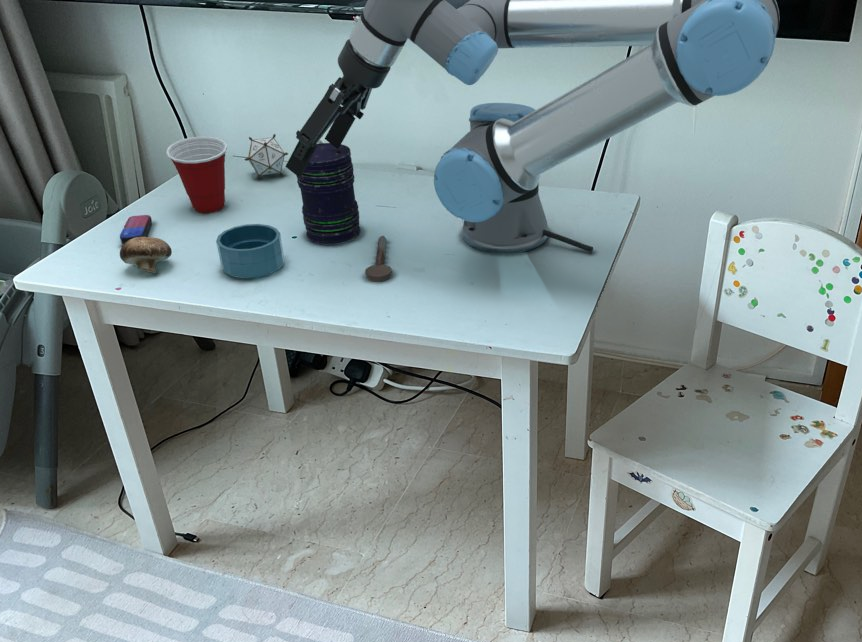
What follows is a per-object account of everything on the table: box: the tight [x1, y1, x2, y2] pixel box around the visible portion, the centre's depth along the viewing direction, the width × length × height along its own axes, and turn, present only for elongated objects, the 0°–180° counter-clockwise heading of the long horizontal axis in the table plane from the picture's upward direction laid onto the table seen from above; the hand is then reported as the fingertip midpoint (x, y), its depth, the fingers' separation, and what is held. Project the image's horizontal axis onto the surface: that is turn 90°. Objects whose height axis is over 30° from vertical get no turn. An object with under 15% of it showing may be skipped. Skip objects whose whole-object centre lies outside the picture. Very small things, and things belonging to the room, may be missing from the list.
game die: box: [244, 133, 289, 181], centre depth 182 cm, size 9×8×10 cm
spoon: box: [364, 235, 393, 283], centre depth 153 cm, size 15×4×1 cm, turn 4°
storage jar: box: [295, 142, 361, 246], centre depth 158 cm, size 10×10×15 cm
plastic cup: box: [165, 136, 228, 214], centre depth 168 cm, size 11×11×12 cm
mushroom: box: [119, 236, 173, 274], centre depth 149 cm, size 8×8×6 cm
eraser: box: [119, 214, 153, 246], centre depth 161 cm, size 11×4×2 cm, turn 9°
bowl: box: [215, 223, 285, 279], centre depth 150 cm, size 10×10×6 cm
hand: (313, 157), depth 148 cm, fingers open, 13 cm apart
